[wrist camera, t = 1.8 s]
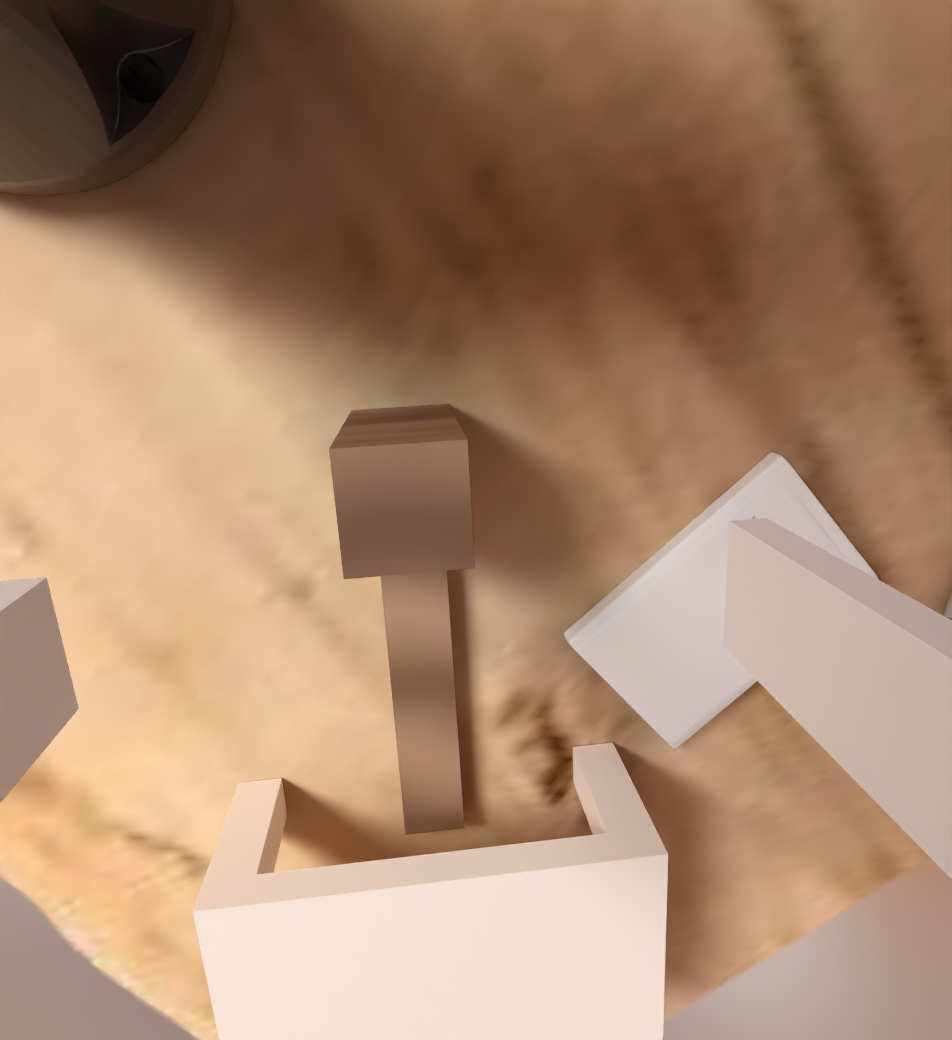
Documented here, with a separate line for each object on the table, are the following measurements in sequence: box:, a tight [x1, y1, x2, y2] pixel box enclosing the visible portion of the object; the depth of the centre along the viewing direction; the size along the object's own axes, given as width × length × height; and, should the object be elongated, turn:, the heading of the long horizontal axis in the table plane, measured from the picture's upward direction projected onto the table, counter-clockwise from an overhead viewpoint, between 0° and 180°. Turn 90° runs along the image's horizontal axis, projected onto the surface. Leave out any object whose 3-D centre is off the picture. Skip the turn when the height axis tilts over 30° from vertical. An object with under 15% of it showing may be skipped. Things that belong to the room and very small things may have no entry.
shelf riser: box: [193, 743, 668, 1040], centre depth 32 cm, size 12×18×8 cm, turn 93°
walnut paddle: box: [329, 404, 475, 835], centre depth 27 cm, size 20×4×9 cm, turn 3°
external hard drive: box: [564, 452, 878, 749], centre depth 33 cm, size 2×8×12 cm
